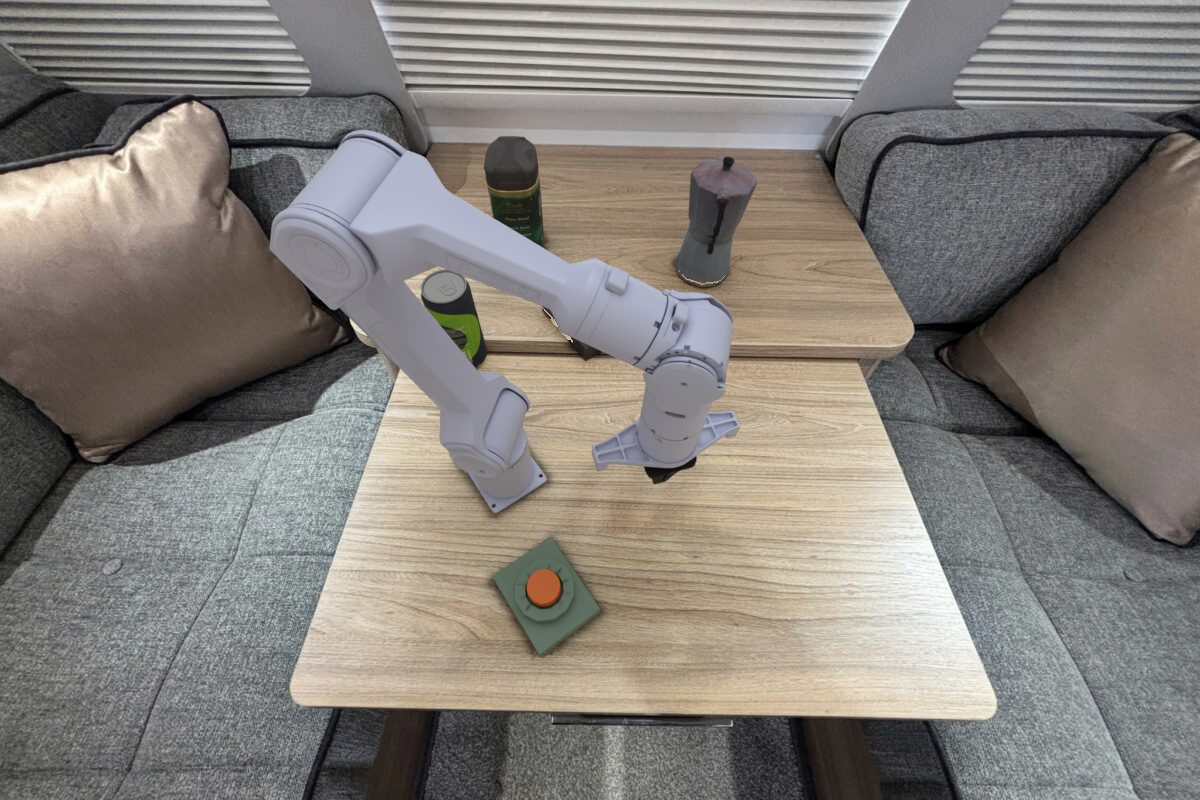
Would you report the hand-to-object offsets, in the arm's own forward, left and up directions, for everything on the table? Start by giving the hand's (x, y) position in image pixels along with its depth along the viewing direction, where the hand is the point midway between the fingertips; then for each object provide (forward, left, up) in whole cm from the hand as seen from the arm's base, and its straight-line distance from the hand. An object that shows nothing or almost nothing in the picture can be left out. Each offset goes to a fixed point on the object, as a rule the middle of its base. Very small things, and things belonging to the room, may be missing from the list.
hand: (656, 475), depth 59 cm
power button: (+2, -16, -7) cm, 18 cm away
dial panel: (-29, +12, -10) cm, 33 cm away
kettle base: (+2, -16, -10) cm, 19 cm away
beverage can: (-34, -7, -11) cm, 37 cm away
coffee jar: (-49, +12, -11) cm, 52 cm away
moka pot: (-27, +34, -11) cm, 45 cm away
